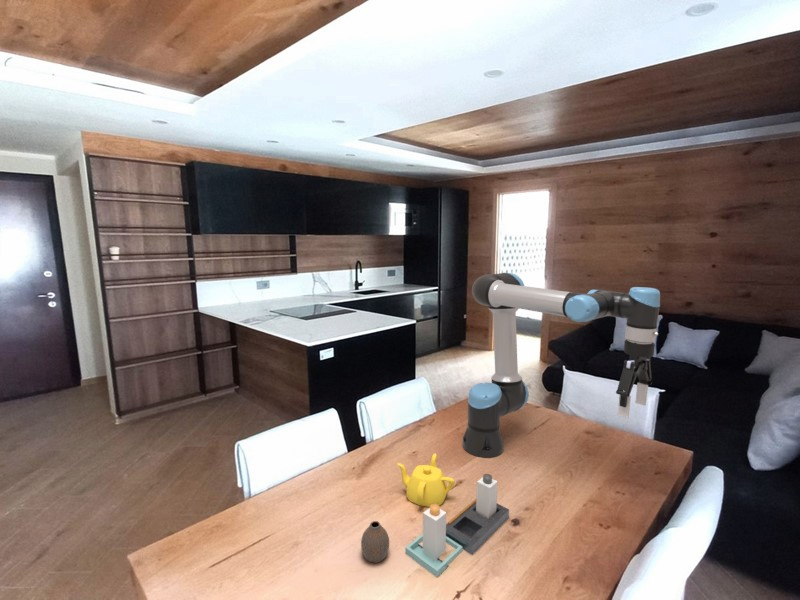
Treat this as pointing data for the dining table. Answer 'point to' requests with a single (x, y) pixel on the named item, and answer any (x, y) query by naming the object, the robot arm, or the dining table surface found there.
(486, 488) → the twin plug
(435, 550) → the plug
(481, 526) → the grey socket base
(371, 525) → the vase
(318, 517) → the dining table surface
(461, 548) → the tray
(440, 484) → the teapot
